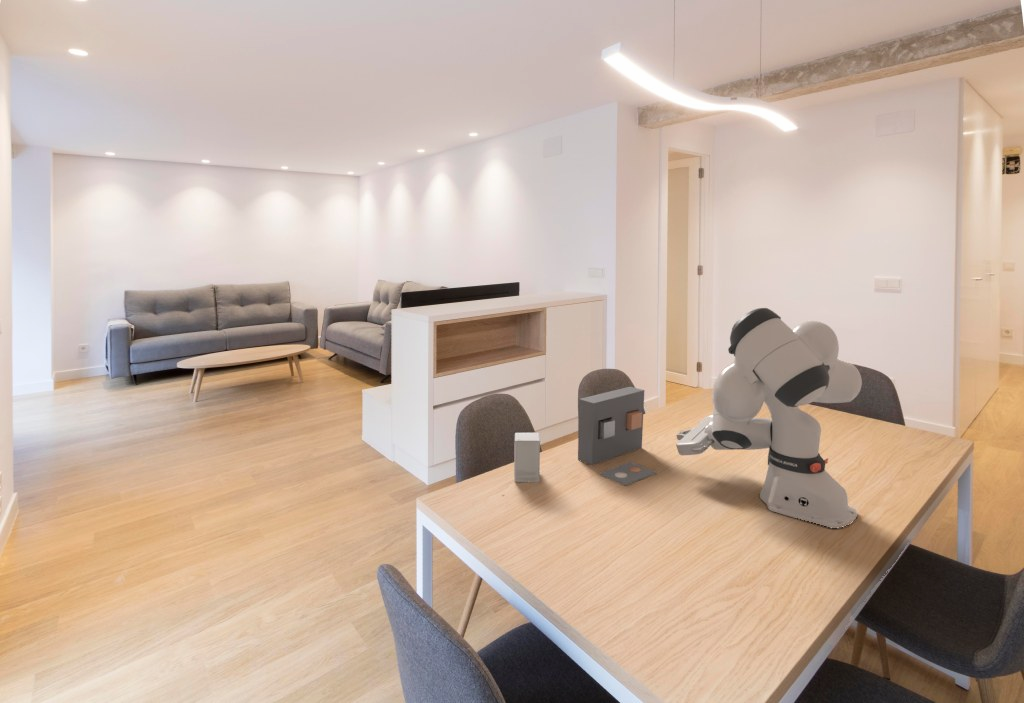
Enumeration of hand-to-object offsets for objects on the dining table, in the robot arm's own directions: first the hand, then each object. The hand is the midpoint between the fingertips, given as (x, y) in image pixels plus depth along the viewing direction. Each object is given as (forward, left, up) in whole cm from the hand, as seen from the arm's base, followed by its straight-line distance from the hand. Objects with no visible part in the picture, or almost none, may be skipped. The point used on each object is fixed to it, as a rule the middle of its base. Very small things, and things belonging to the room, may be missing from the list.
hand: (679, 435), depth 169 cm
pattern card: (+4, +18, -9) cm, 21 cm away
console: (+18, +10, -9) cm, 23 cm away
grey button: (+15, +17, -1) cm, 23 cm away
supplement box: (+21, +43, -9) cm, 49 cm away
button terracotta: (+15, +4, -1) cm, 15 cm away
